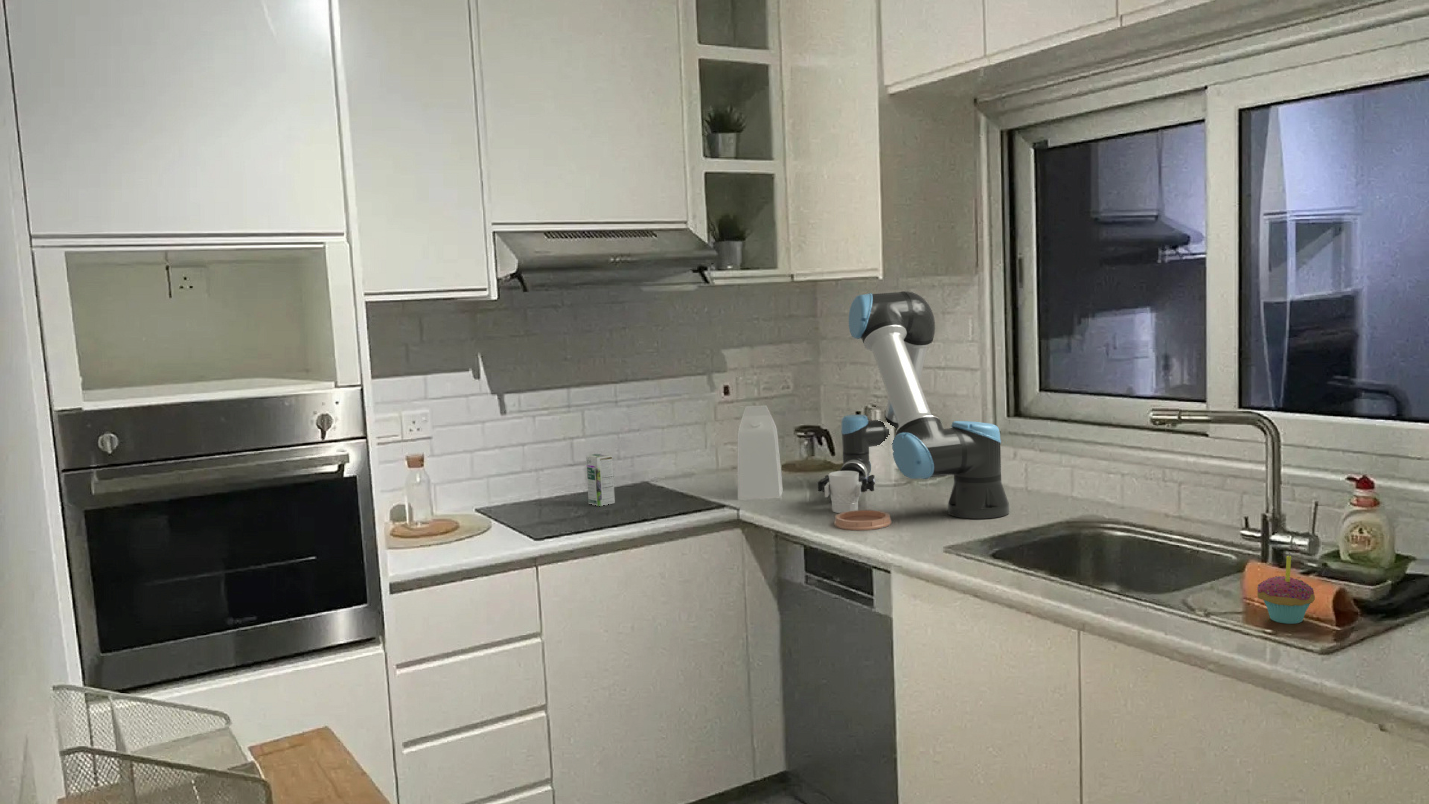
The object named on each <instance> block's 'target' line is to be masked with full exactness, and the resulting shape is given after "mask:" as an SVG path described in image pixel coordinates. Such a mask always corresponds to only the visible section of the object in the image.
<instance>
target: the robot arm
mask: <svg viewBox="0 0 1429 804" xmlns="http://www.w3.org/2000/svg"><path fill="white" fill-rule="evenodd" d="M848 329H849V333H850V335H851V337H852V338H854V339H855V340H860V339H861V340H862V343H863V346H864V348H865V349H866V350H868V351H870V352H872V354H873V357H874V360H875V363H876V365H877V368H878V371H879V373H880V376H881V379H882V382H883V385H884V388H885V391H886V393H887V396H888V400H887V405H886V410H885V414H884V418H886V420H887V422H888V423H890V425H892V426H894V427H895V428H897V430H896V436H895V438H894V440H893V443H892V444H891V449H892V451H893V452H892V455H893V460H894V463H895V465H896V467H897V468H898V471H900V473H901V474H902V475H903V476H904V477H907V478H909V479H911V480H919V479H921V480H922V479H923V480H927V479H930V478H939V477H945V476H953V485H952V488H951V492H950V496H949V498H948V503H947V514H948V515H950V516H953V517H957V518H962V519H973V520H974V519H977V520H979V519H980V520H981V519H984V520H985V519H995V518H1001V517H1005V516H1008V514H1010V503H1009V502H1010V501H1009V499H1008V497H1007V494H1006V491H1005V489H1004V488H1005V487H1004V486H1003V482H1002V460H1001V459H1002V455H1001V454H1002V453H1001V452H1002V451H1001V444H1002V441H1001V433H1000V427H998V426H997V425H996V424H993V423H988V422H979V421H973V420H972V421H968V420H954V421H953V422H951V425H950V428H949V427H948V428H945V427H943V425H942V421H941V419H940V418H939V417H938V416H935V415H932V412H931V409H930V407H929V405H928V402H927V399H926V396H925V394H924V391H923V388H922V386H921V383H920V382H921V377H922V373H923V368H924V365H925V359H926V355H927V351H928V346H930V345H931V344H932V343H933V341H934V337H935V333H936V321H935V316H934V313H933V310H932V307H931V306H930V304H929V302H928V301H926V300H925V298H923V296H921V295H919V294H918V293H916V292H913V291H908V290H905V291H895V292H884V293H883V292H881V293H871V292H868V293H866V294H859V295H856V296H855V297H854V299H853V300H852V301H851V305H850V307H849V313H848ZM878 420H879V419H872V420H869V419H868V416H867V415H865V414H849V415H845V416H843V417H842V418H841V441H842V442H841V444H842V464H843V465H842V467H841V468H840V469H839V471H856V472H858V473H859V483H858V485H857V486H856V492H857V497H859V498H860V497H861V495H862V494H863V493H865V492H867V491H871V492H874V491H875V484H876V480H875V479H876V478H875V474H871V471H872V465H871V464H872V463H871V461H870V447H871V448H873V447H878V446H877V445H880V444H881V443H882V442H883V441H885V439H887V438H886V437H888V435H890V434H889V429H887V427H885V425H884V423H883V422H881V421H878ZM870 474H871V475H870ZM817 491H818V492H822V493H824V498H828V497H829V496H831V494H830V484H829V474H826V475H824V477H823V478H821V479H820V480H818V481H817Z"/></svg>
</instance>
